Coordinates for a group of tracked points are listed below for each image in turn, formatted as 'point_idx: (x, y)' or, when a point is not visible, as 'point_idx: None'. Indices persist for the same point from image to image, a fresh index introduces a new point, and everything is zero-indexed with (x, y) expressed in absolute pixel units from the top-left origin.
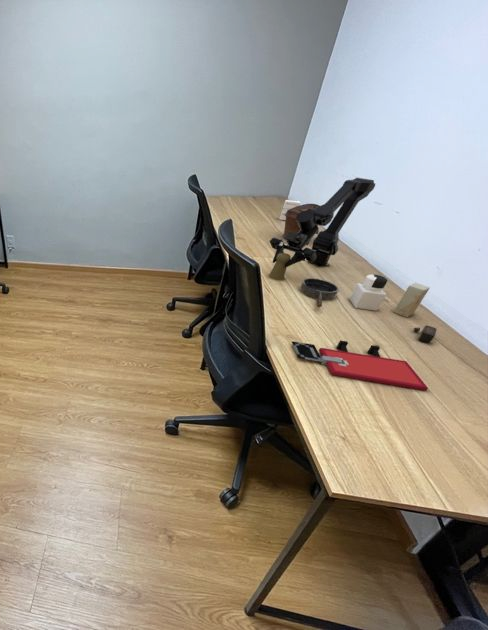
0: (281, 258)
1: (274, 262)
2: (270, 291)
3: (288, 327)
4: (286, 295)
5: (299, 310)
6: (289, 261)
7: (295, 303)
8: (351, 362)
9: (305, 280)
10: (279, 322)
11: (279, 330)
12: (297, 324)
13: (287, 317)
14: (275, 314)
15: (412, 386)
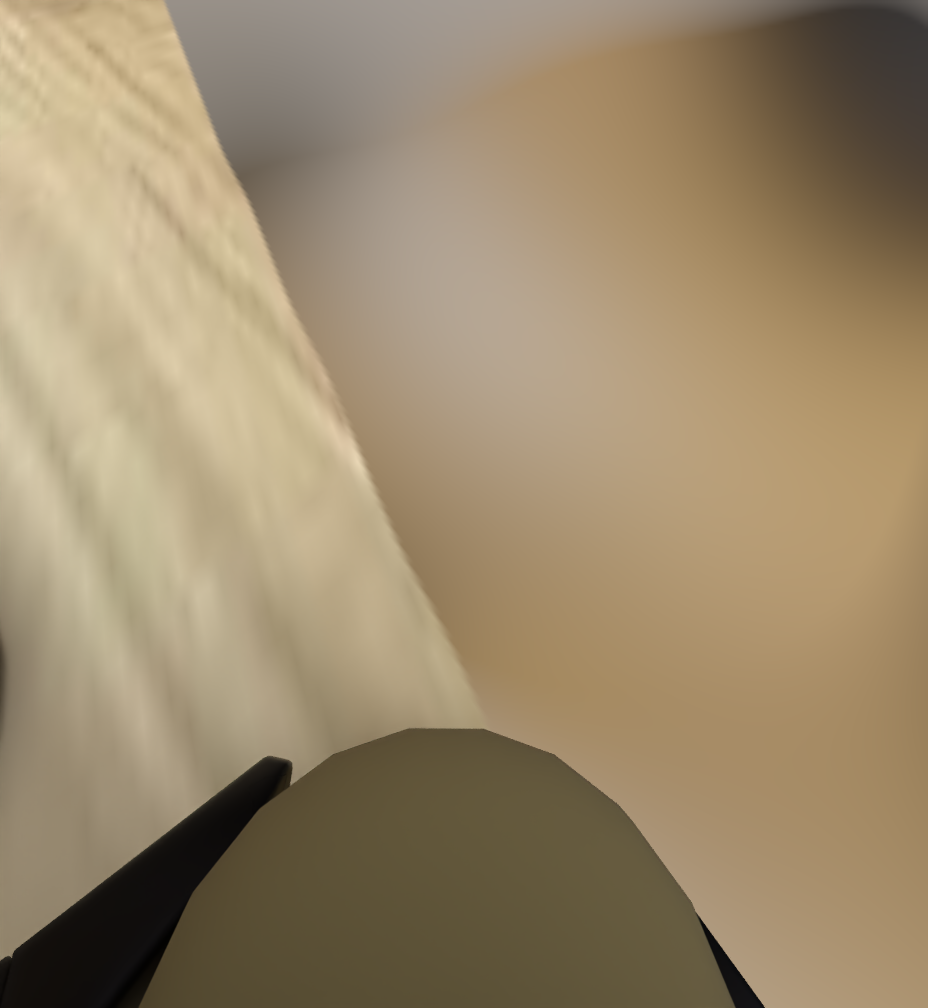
0: (435, 735)
1: None
2: (323, 382)
3: (83, 55)
4: (158, 403)
5: (13, 232)
6: (141, 905)
7: (53, 312)
8: None
9: None
10: (142, 70)
11: (129, 23)
12: (27, 92)
13: (100, 124)
14: (184, 120)
15: None
